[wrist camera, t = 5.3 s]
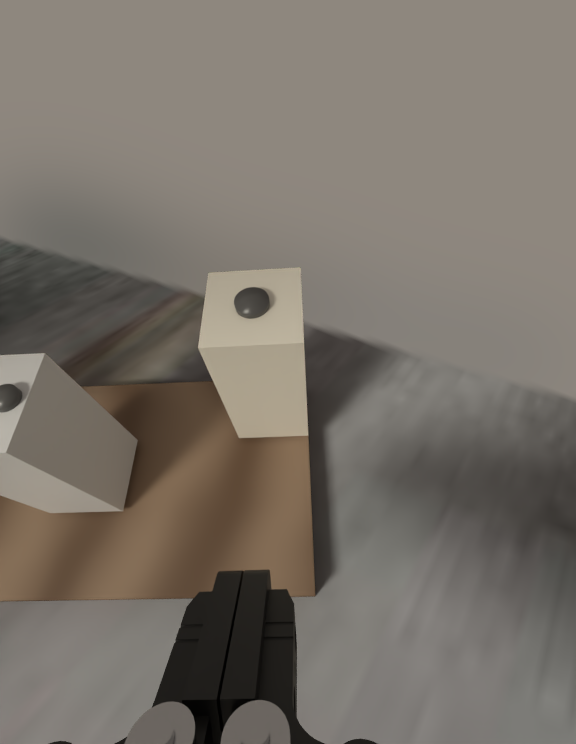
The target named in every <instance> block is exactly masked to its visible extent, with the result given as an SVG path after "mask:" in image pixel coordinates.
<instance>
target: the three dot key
mask: <svg viewBox="0 0 576 744" xmlns="http://www.w3.org/2000/svg"><path fill="white" fill-rule="evenodd" d="M137 442H138V440H137V439H136V438H135V437H134V436H133V435H132V434H131V433H130V432H129V431H128V430H126V429H125V428H124V427H123V426H122V425H121V424H120V423H119V422H118V421H117V420H116V419H115V418H114V417H113V416H112V415H110V414H109V413H108V412H107V411H106V410H105V409H104V408H103V407H102V406H101V405H100V404H99V403H98V402H97V401H96V400H94V399H93V398H92V397H91V396H90V395H89V394H88V393H87V392H86V391H85V390H84V389H83V388H82V387H81V386H80V385H78V384H77V383H76V382H75V381H74V380H73V379H72V378H71V377H70V376H69V375H68V374H67V373H66V372H65V371H64V370H62V369H61V368H60V367H59V366H58V365H57V364H56V363H55V362H54V361H53V360H52V359H51V358H50V357H49V356H48V355H46V354H45V353H38V354H17V355H0V496H3V497H6V498H9V499H12V500H14V501H17V502H20V503H23V504H26V505H29V506H31V507H34V508H37V509H40V510H43V511H45V512H48V513H75V512H112V511H123V509H124V504H125V500H126V495H127V490H128V485H129V480H130V475H131V471H132V466H133V461H134V456H135V451H136V446H137Z"/></svg>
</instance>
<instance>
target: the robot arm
mask: <svg viewBox="0 0 576 744" xmlns="http://www.w3.org/2000/svg"><path fill="white" fill-rule="evenodd" d="M50 744H71V743H69V742H66V741H58V742H53V743H50ZM115 744H324V743H322V742H320V741H318V740H316V739H314V738H313V737H311V736H310V735H309V734H308V733H307V732H306V731H305V730H304V729H303V728H302V726H301V725H300V724H299V722H298V720H297V642H296V627H295V612H294V603H293V601H292V599H291V597H290V595H289V592H288V590H287V589H271V576H270V570H269V569H267V570H245V571H243V570H239V571H219V572H218V573H217V576H216V579H215V583H214V587H213V590H212V591H206V592H199V593H198V594H197V595H196V596H195V598H194V599H193V600H192V601H191V602H190V604H189V605H188V606H187V608H186V611H185V614H184V617H183V620H182V623H181V628H179V631H178V634H177V637H176V642H175V643H174V646H173V649H172V652H171V655H170V657H169V660H168V663H167V666H166V669H165V672H164V675H163V678H162V681H161V684H160V686H159V689H158V692H157V695H156V698H155V701H154V703H153V706H152V708H151V709H149V710H148V711H147V712H145V713H144V714H143V715H142V716H141V717H140V718H139V719H138V720H137V722H136V723H135V724H134V726H133V727H132V729H131V731H130V733H129V734H128V736H127V737H126V738H124V739H123V740H121V741H119V742H117V743H115ZM344 744H377V743H375V742H373V741H370V740H366V739H354V740H351V741H348V742H346V743H344Z"/></svg>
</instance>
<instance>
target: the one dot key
mask: <svg viewBox="0 0 576 744" xmlns="http://www.w3.org/2000/svg"><path fill="white" fill-rule="evenodd" d="M198 349H199V351H200V354H201V356H202V358H203V360H204V362H205V365H206V367H207V369H208V371H209V373H210V375H211V378H212V380H213V382H214V384H215V386H216V389H217V391H218V393H219V395H220V397H221V400H222V402H223V404H224V406H225V408H226V411H227V413H228V415H229V417H230V419H231V422H232V424H233V426H234V428H235V430H236V432H237V435H238V437H239V438H257V437H285V436H308V416H307V393H306V371H305V349H304V327H303V307H302V286H301V268H300V267H297V268H280V269H262V270H246V271H227V272H210V273H208V279H207V287H206V293H205V301H204V308H203V315H202V322H201V330H200V337H199V344H198Z"/></svg>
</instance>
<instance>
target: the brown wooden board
mask: <svg viewBox="0 0 576 744" xmlns="http://www.w3.org/2000/svg"><path fill="white" fill-rule="evenodd" d="M82 388H83V389H84V390H85V391H86V392H87V393H88V394H89V395H90V396H91V397H92V398H93V399H94V400H96V401H97V402H98V403H99V404H100V405H101V406H102V407H103V408H104V409H105V410H106V411H107V412H108V413H109V414H110V415H112V416H113V417H114V418H115V419H116V420H117V421H118V422H119V423H120V424H121V425H122V426H123V427H124V428H125V429H126V430H128V431H129V432H130V433H131V434H132V435H133V436H134V437H135V438H136V439H137V440H138V442H137V446H136V451H135V456H134V461H133V466H132V471H131V475H130V480H129V485H128V490H127V495H126V500H125V504H124V509H123V511H112V512H75V513H48V512H45V511H43V510H40V509H37V508H34V507H31V506H29V505H26V504H23V503H20V502H17V501H14V500H12V499H9V498H6V497H3V496H0V601H57V600H119V599H182V598H195V596H196V595H197V594H198V593H199V592H206V591H212V590H213V587H214V583H215V579H216V576H217V573H218V572H219V571H239V570H243V571H245V570H267V569H269V570H270V576H271V589H287V590H288V592H289V595H290V597H307V596H315V577H314V554H313V531H312V508H311V485H310V462H309V439H308V436H285V437H257V438H239V437H238V435H237V432H236V430H235V428H234V426H233V424H232V422H231V419H230V417H229V415H228V413H227V411H226V408H225V406H224V404H223V402H222V400H221V397H220V395H219V393H218V391H217V389H216V386H215V384H214V382H213V381H202V382H179V383H156V384H133V385H110V386H87V387H82ZM306 393H307V392H306ZM307 416H308V415H307Z"/></svg>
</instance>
